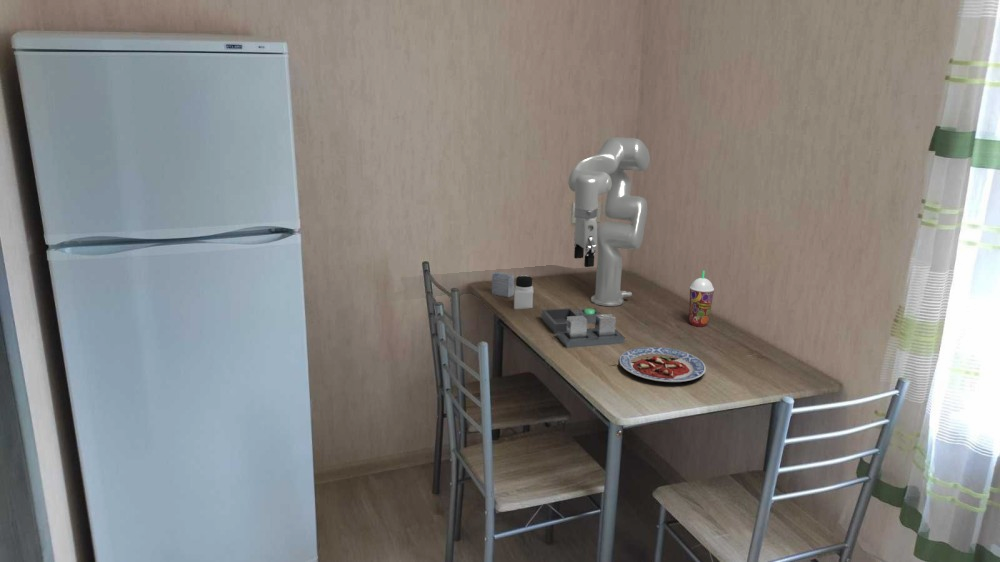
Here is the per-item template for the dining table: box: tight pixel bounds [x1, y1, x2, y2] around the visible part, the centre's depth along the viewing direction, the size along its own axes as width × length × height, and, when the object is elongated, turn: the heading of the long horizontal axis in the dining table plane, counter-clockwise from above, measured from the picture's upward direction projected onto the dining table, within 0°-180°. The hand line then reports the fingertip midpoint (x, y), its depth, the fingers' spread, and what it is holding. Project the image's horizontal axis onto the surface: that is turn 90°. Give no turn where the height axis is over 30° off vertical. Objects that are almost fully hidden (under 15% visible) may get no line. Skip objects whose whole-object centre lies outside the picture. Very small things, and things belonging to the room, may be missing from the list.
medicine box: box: [491, 271, 515, 298], centre depth 286 cm, size 8×4×9 cm, turn 58°
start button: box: [584, 307, 595, 314], centre depth 257 cm, size 4×4×4 cm
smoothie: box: [688, 270, 715, 328], centre depth 256 cm, size 8×8×20 cm
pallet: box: [556, 327, 626, 349], centre depth 239 cm, size 20×10×3 cm, turn 104°
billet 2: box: [594, 313, 617, 337], centre depth 239 cm, size 6×4×8 cm
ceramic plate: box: [619, 346, 707, 383], centre depth 220 cm, size 26×26×3 cm
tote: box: [541, 307, 579, 335], centre depth 252 cm, size 11×15×4 cm
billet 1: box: [566, 316, 588, 339], centre depth 237 cm, size 6×4×8 cm
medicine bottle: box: [513, 275, 535, 310], centre depth 271 cm, size 7×7×12 cm
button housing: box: [576, 307, 602, 325], centre depth 257 cm, size 7×7×4 cm
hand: (583, 262), depth 244 cm, fingers open, 9 cm apart
